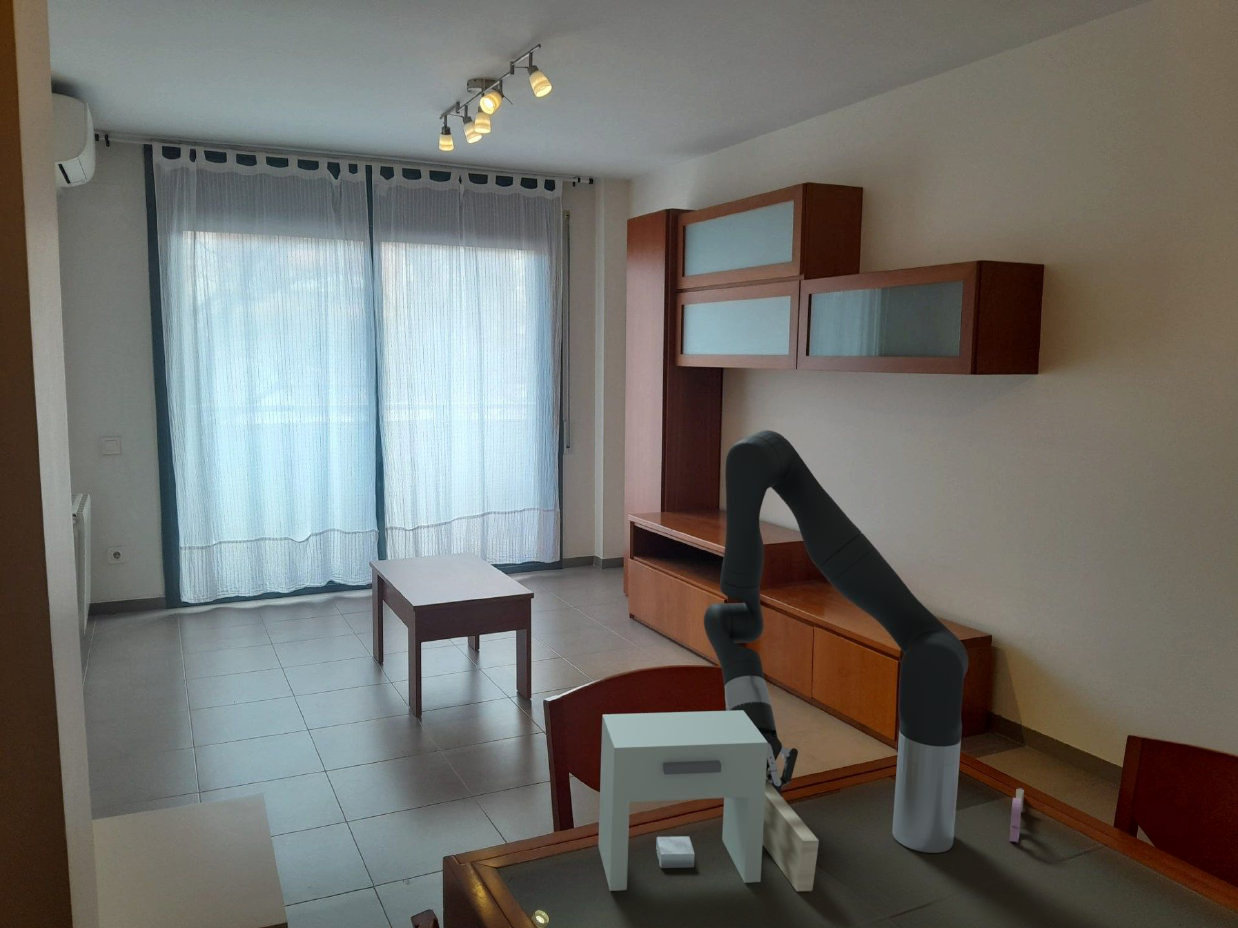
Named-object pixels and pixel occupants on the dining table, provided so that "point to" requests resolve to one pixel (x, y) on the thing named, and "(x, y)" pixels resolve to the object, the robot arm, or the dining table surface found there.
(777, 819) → the beech blade
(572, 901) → the dining table surface
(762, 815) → the desk
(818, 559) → the robot arm
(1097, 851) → the dining table surface
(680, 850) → the block
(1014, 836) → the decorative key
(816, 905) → the dining table surface
